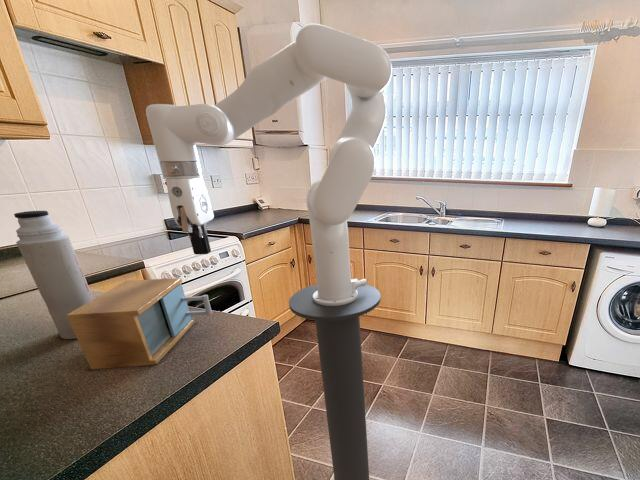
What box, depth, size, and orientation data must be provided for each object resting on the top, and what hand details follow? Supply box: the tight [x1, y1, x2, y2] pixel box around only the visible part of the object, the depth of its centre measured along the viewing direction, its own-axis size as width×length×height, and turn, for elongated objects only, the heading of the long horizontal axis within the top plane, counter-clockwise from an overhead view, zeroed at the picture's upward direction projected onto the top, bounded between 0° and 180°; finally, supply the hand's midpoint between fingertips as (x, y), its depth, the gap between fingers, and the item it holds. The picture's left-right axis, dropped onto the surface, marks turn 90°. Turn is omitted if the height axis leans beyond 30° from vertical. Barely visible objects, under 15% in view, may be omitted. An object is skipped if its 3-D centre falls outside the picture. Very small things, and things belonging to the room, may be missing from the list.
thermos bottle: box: [13, 210, 95, 340], centre depth 75 cm, size 8×8×28 cm
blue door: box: [160, 283, 213, 337], centre depth 77 cm, size 6×9×9 cm
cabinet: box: [67, 277, 195, 370], centre depth 72 cm, size 12×18×12 cm, turn 8°
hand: (202, 253), depth 80 cm, fingers closed
